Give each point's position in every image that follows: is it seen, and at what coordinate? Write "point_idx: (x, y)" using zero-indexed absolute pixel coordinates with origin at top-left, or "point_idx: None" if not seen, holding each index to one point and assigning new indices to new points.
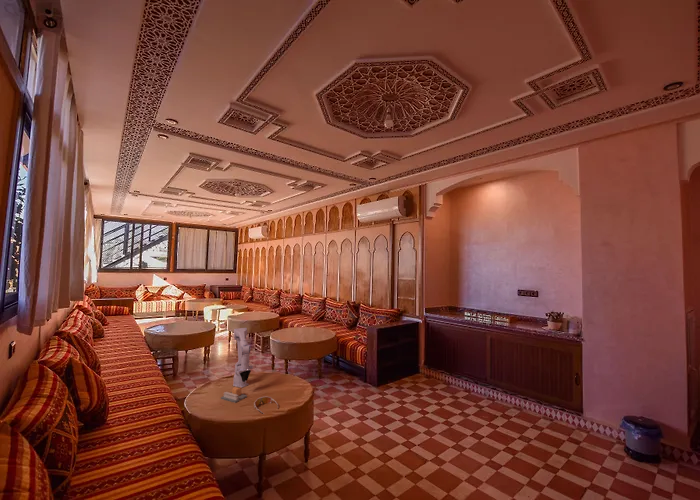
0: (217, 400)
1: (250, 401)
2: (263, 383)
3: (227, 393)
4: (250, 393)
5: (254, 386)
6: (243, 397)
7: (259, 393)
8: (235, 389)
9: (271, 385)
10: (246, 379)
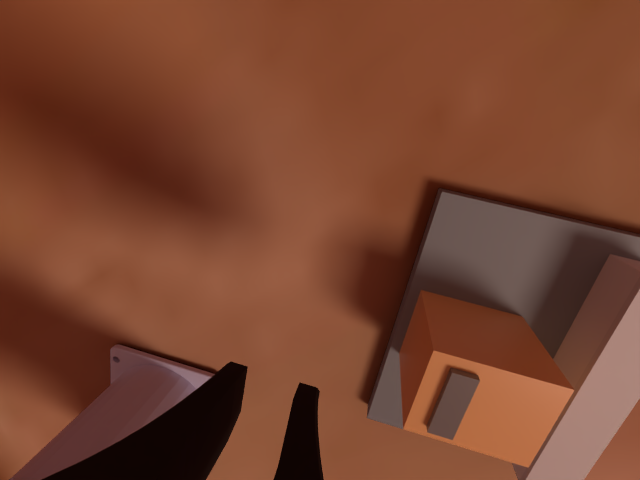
0: (599, 475)
1: (611, 31)
2: (16, 198)
3: (580, 458)
4: (322, 201)
5: (129, 259)
6: (521, 209)
7: (285, 68)
8: (557, 407)
9: (3, 52)
10: (235, 394)
